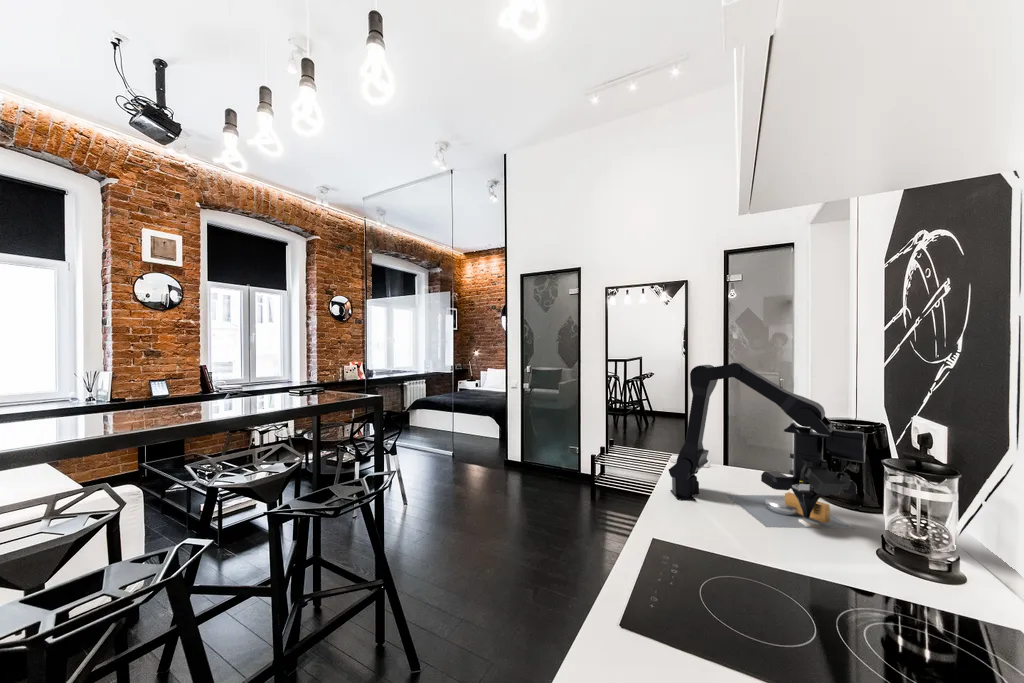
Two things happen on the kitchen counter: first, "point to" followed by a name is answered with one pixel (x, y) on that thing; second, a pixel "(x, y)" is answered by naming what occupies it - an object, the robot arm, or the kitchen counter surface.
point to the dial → (796, 507)
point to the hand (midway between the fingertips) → (806, 517)
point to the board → (771, 519)
